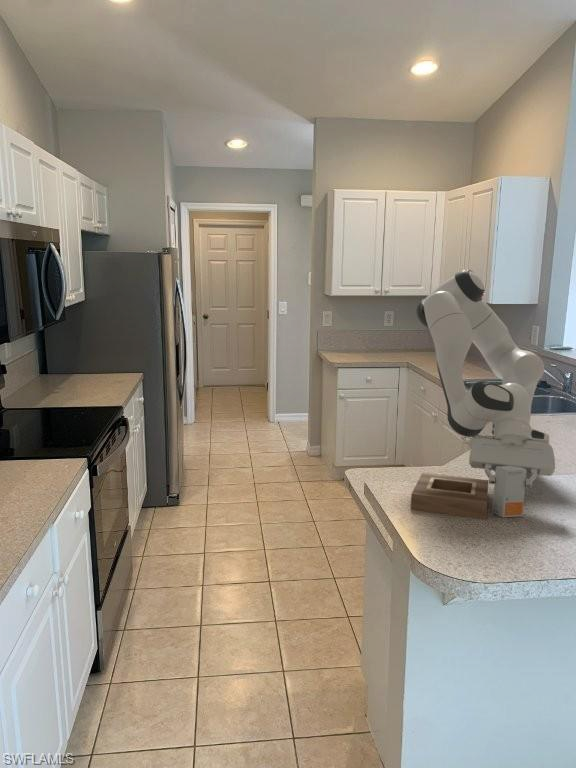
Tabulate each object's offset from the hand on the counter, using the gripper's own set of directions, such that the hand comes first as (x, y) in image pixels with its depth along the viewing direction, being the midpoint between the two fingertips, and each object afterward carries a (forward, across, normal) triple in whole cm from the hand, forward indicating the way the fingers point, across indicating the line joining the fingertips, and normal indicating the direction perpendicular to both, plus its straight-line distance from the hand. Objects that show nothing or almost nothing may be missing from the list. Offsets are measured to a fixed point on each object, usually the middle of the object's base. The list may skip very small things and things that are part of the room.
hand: (510, 484), depth 142 cm
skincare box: (+5, 0, +6) cm, 8 cm away
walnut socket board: (+2, -14, +10) cm, 17 cm away
